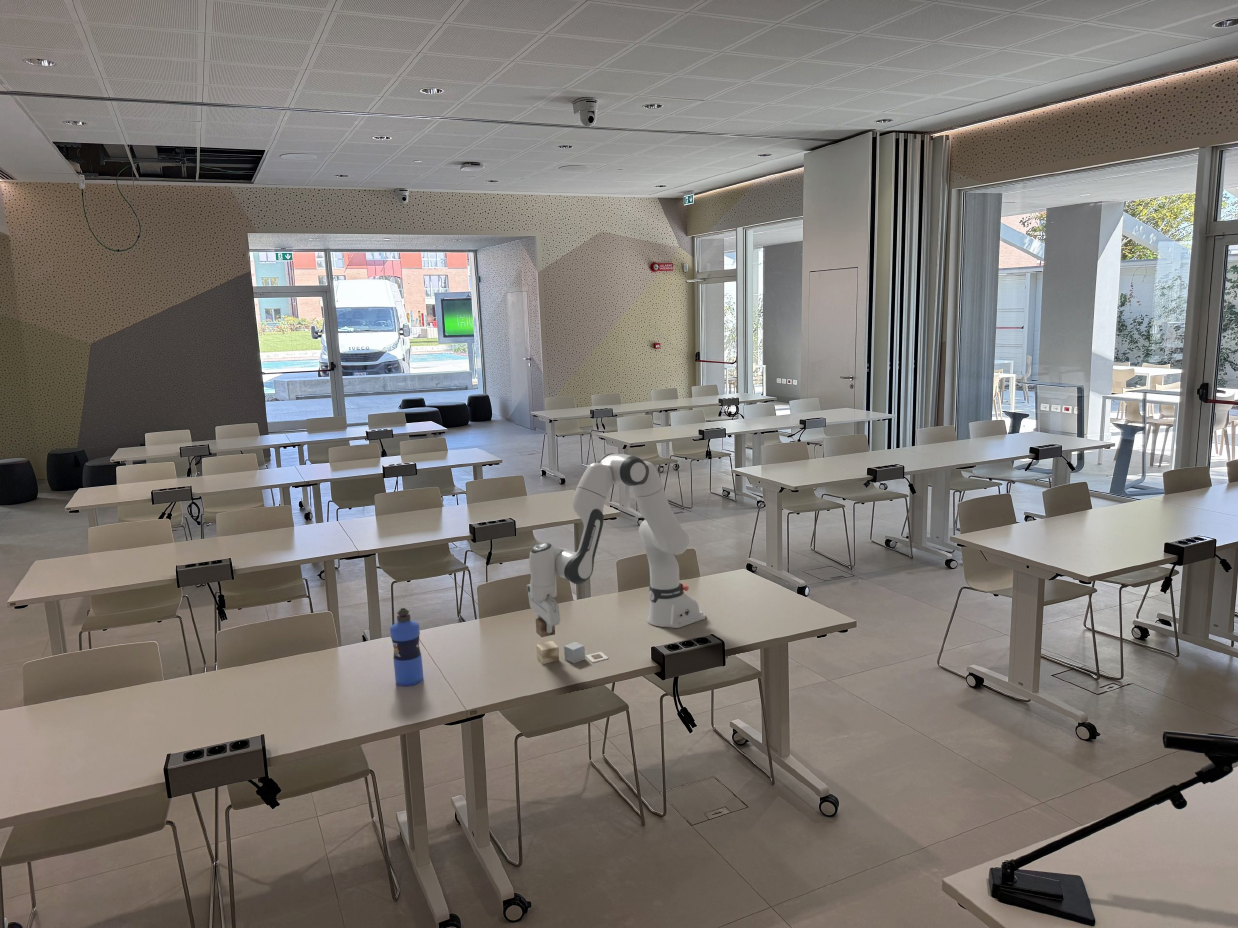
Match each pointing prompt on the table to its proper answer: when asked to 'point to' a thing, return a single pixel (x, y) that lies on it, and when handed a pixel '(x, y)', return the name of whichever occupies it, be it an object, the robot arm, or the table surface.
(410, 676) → the water bottle
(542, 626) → the walnut block
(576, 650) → the grey block
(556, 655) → the maple base
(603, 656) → the swatch
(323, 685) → the table surface
